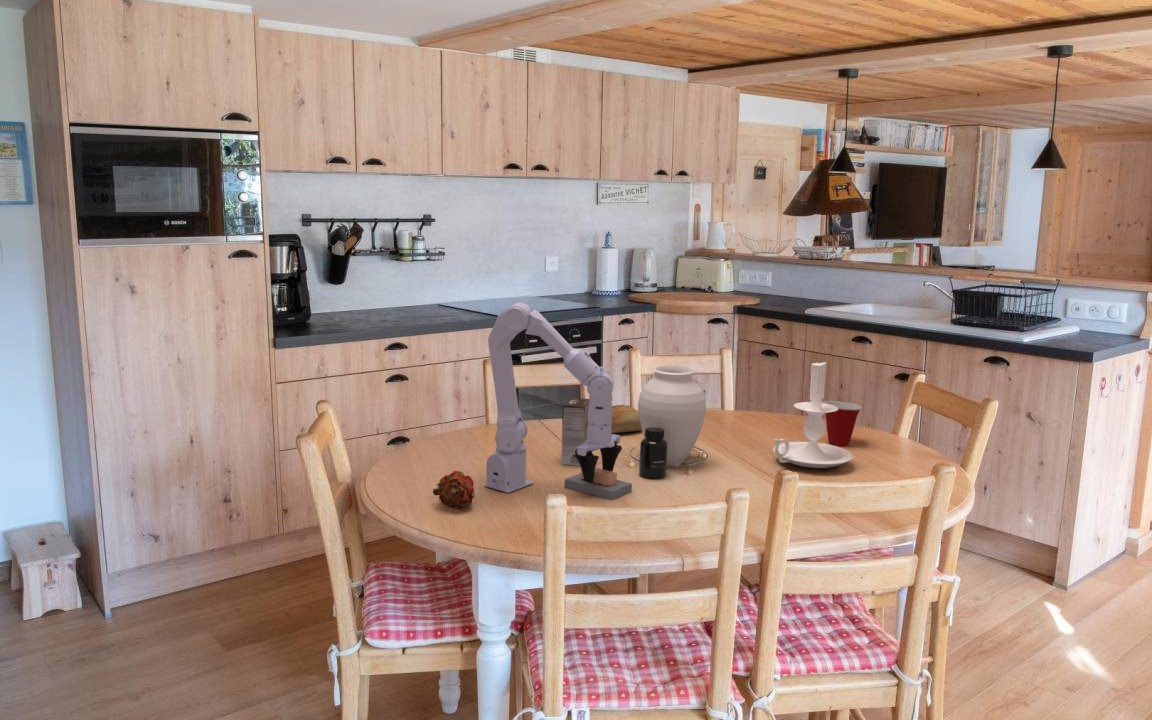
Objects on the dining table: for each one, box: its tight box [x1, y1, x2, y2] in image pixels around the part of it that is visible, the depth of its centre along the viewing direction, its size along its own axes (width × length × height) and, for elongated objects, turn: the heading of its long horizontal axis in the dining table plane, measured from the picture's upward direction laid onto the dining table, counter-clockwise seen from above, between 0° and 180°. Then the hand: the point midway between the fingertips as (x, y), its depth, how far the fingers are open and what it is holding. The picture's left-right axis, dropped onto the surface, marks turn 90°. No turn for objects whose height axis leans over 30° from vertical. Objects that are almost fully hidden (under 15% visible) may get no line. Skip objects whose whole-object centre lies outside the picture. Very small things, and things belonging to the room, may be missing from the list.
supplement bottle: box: [638, 427, 668, 480], centre depth 223 cm, size 7×7×12 cm
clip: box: [580, 467, 618, 487], centre depth 212 cm, size 3×8×5 cm, turn 53°
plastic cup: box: [822, 400, 863, 447], centre depth 256 cm, size 11×11×12 cm
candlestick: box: [772, 360, 854, 469], centre depth 233 cm, size 21×25×28 cm
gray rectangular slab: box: [564, 472, 633, 501], centre depth 212 cm, size 8×14×2 cm, turn 53°
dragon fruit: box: [432, 470, 475, 510], centre depth 199 cm, size 8×8×12 cm
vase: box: [637, 365, 707, 466], centre depth 234 cm, size 18×18×25 cm
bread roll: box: [611, 404, 642, 434], centre depth 264 cm, size 10×15×8 cm, turn 122°
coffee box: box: [561, 397, 589, 467], centre depth 233 cm, size 9×6×16 cm
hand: (598, 478), depth 212 cm, fingers open, 7 cm apart
